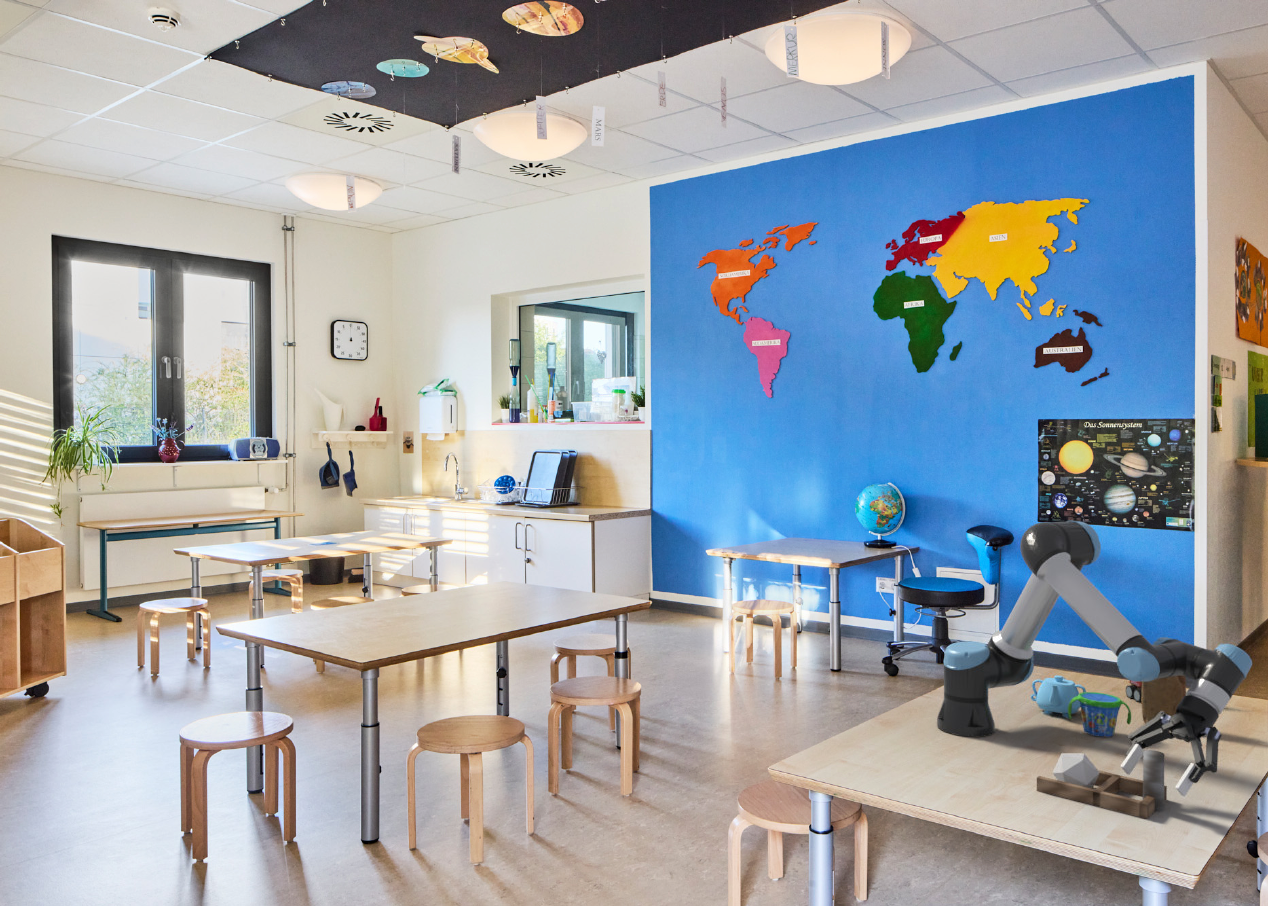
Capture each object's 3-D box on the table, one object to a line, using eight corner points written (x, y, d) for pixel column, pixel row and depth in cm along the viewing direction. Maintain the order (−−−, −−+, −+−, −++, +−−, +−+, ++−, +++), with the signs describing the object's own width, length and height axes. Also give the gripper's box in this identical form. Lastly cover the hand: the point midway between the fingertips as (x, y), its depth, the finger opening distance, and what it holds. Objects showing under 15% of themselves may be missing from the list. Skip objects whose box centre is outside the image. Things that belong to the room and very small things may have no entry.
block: (1139, 725, 263) (1139, 655, 263) (1145, 720, 268) (1146, 650, 268) (1182, 733, 256) (1183, 661, 256) (1188, 727, 261) (1189, 656, 261)
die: (1094, 804, 206) (1111, 763, 210) (1057, 781, 208) (1074, 741, 211) (1077, 803, 214) (1093, 764, 218) (1041, 782, 216) (1057, 743, 219)
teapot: (1066, 708, 282) (1065, 671, 282) (1095, 719, 268) (1094, 680, 268) (1027, 710, 280) (1026, 672, 280) (1055, 721, 266) (1054, 682, 266)
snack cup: (1128, 731, 257) (1129, 695, 257) (1133, 743, 247) (1134, 704, 247) (1066, 725, 263) (1066, 689, 263) (1069, 735, 253) (1069, 698, 253)
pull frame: (1036, 790, 212) (1037, 738, 211) (1060, 774, 222) (1060, 724, 222) (1153, 820, 195) (1154, 763, 195) (1172, 801, 206) (1173, 747, 206)
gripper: (1265, 732, 195) (1214, 813, 190) (1161, 701, 219) (1112, 772, 214) (1248, 709, 194) (1195, 790, 188) (1144, 680, 217) (1095, 752, 212)
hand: (1151, 781), depth 201 cm, fingers open, 13 cm apart
